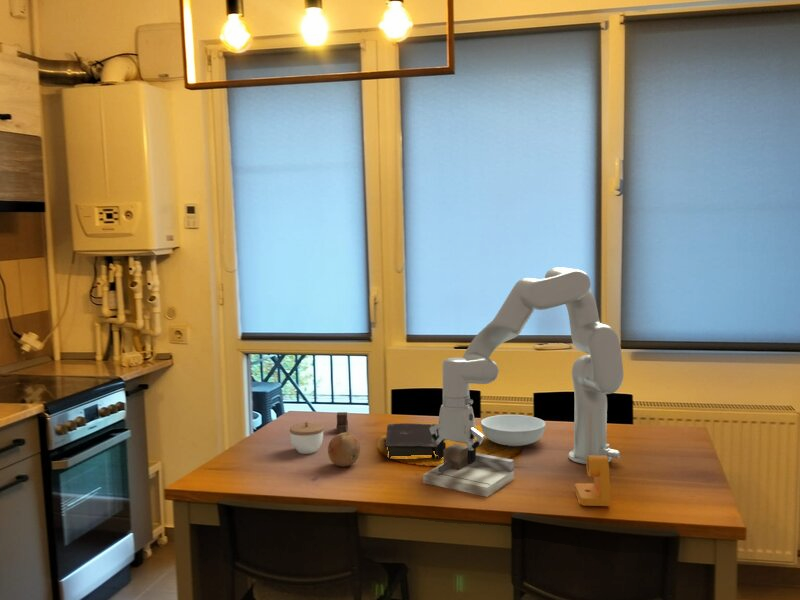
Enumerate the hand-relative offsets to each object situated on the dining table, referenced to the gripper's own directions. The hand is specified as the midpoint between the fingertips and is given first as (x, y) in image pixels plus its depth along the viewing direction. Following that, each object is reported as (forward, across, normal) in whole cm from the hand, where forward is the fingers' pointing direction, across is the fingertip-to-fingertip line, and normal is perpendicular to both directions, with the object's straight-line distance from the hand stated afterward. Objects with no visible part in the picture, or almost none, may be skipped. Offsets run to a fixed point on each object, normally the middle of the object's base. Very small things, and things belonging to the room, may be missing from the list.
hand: (456, 459), depth 212 cm
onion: (+4, +32, +11) cm, 35 cm away
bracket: (+5, -40, -1) cm, 40 cm away
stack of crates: (+5, +55, -18) cm, 58 cm away
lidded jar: (+5, +52, +6) cm, 52 cm away
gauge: (+1, 0, +3) cm, 3 cm away
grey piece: (+4, -6, +3) cm, 7 cm away
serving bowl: (+5, 0, -36) cm, 37 cm away
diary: (+5, +25, -15) cm, 29 cm away
